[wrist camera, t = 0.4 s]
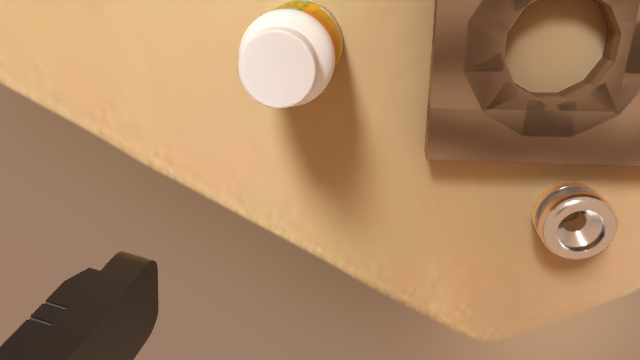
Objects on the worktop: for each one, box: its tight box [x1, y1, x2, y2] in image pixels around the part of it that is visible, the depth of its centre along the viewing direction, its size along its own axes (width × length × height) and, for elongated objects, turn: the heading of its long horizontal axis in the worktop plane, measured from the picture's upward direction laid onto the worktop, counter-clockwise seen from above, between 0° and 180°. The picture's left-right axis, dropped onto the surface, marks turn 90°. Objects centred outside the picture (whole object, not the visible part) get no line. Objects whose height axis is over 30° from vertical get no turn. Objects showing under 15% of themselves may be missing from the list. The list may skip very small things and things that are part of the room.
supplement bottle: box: [239, 0, 343, 108], centre depth 31 cm, size 5×5×10 cm
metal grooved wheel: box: [531, 181, 618, 260], centre depth 36 cm, size 5×3×5 cm
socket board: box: [425, 0, 640, 166], centre depth 32 cm, size 15×15×2 cm
